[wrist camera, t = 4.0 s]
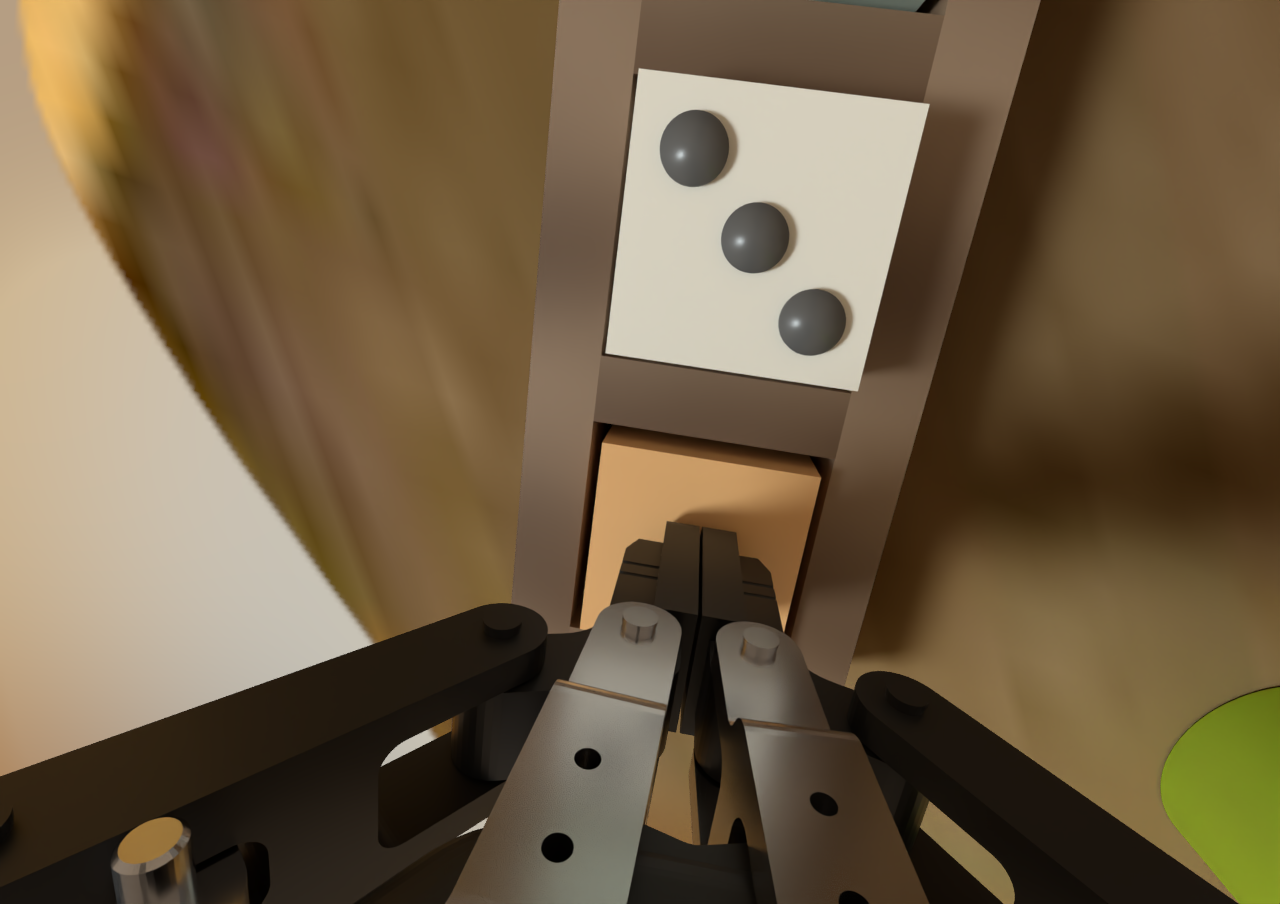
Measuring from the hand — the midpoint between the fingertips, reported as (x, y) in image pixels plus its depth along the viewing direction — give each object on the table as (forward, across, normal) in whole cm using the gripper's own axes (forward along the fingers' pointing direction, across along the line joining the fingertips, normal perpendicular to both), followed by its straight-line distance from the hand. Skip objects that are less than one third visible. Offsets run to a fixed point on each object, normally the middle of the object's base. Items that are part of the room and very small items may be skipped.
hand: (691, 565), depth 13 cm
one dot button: (+4, 0, 0) cm, 4 cm away
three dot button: (+3, 0, -7) cm, 7 cm away
